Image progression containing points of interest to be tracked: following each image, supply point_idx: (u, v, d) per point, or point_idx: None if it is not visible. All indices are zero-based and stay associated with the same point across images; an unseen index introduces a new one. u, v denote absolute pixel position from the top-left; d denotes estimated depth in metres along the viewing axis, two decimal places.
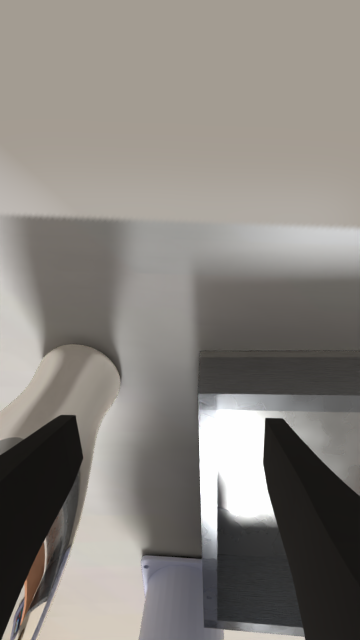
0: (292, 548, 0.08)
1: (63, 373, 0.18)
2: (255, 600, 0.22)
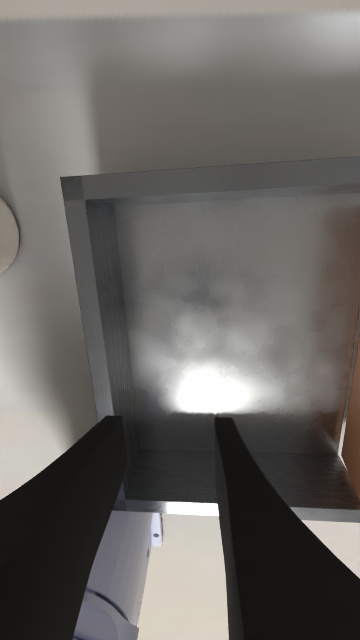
0: (224, 544, 0.08)
1: None
2: (172, 483, 0.20)
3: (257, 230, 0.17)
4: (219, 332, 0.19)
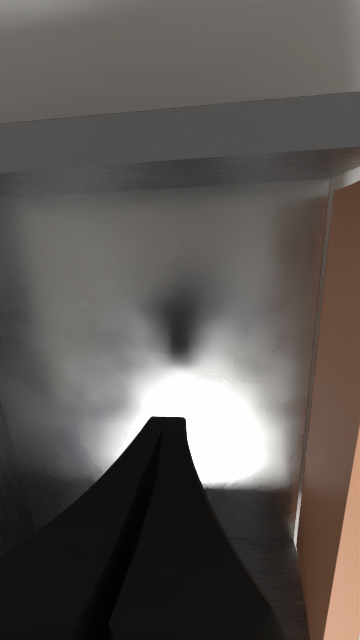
0: None
1: None
2: None
3: (156, 237, 0.11)
4: (119, 380, 0.14)
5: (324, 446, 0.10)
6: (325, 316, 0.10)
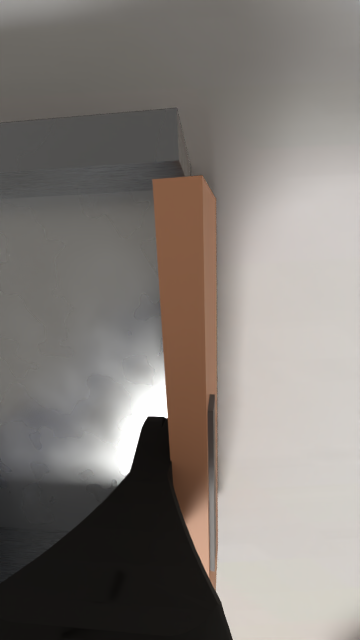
0: None
1: None
2: None
3: (35, 244, 0.12)
4: (16, 382, 0.14)
5: None
6: None
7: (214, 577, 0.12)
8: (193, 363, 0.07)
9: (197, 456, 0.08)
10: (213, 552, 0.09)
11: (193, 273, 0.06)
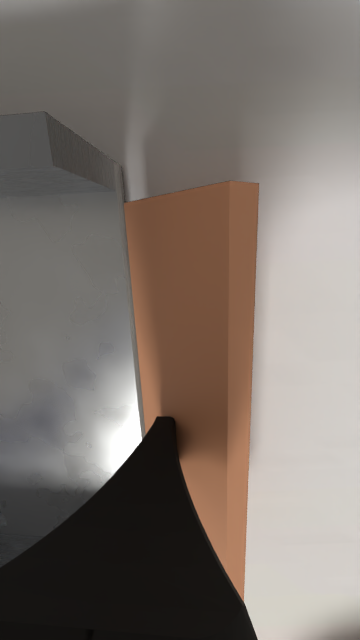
0: None
1: None
2: None
3: None
4: None
5: (178, 449, 0.10)
6: (144, 326, 0.10)
7: None
8: (246, 346, 0.08)
9: (244, 429, 0.09)
10: None
11: (250, 266, 0.07)
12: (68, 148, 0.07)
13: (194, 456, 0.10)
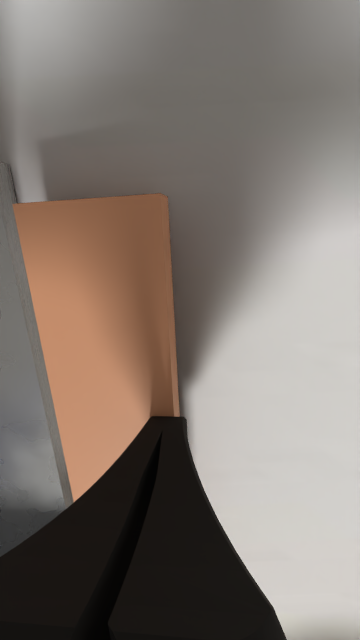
0: None
1: None
2: None
3: None
4: None
5: (114, 436, 0.11)
6: (55, 332, 0.10)
7: None
8: (172, 319, 0.10)
9: (176, 387, 0.11)
10: None
11: (169, 257, 0.09)
12: None
13: (136, 432, 0.11)
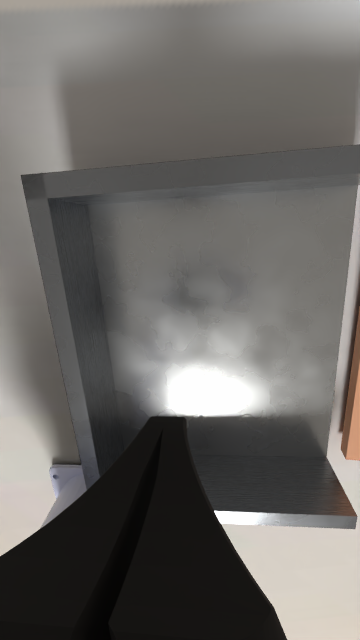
0: None
1: None
2: None
3: (235, 227, 0.16)
4: (200, 333, 0.19)
5: None
6: None
7: None
8: None
9: None
10: None
11: None
12: None
13: None
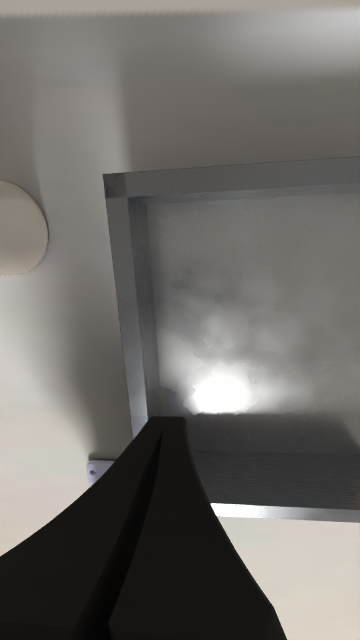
0: None
1: None
2: None
3: (291, 229, 0.17)
4: (249, 331, 0.19)
5: None
6: None
7: None
8: None
9: None
10: None
11: None
12: None
13: None
